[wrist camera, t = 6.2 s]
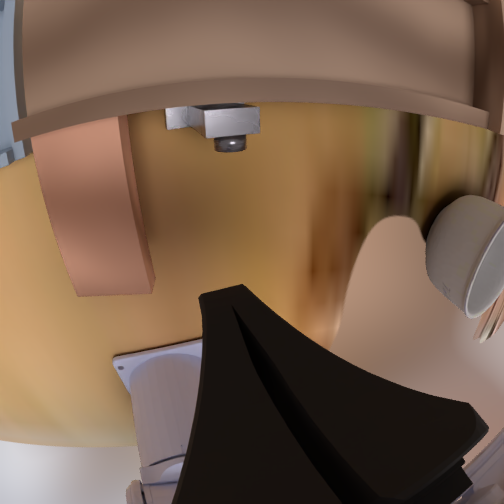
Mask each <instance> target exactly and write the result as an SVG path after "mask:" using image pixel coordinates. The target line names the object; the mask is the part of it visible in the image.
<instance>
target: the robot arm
mask: <svg viewBox="0 0 504 504" xmlns="http://www.w3.org/2000/svg"><path fill="white" fill-rule="evenodd" d="M198 299H199V304H200V309H201V314H202V328H203V332H202V339H199V340H195V341H190V342H186V343H181V344H177V345H172V346H168V347H163V348H158V349H153V350H148V351H143V352H138V353H133V354H127V355H122V356H117V357H114V358H113V366H114V367H115V369H116V371H117V373H118V375H119V376H120V378H121V380H122V382H123V383H124V385H125V387H126V389H127V390H128V392H129V394H130V395H131V402H132V410H133V417H134V424H135V431H136V437H137V443H138V449H139V455H140V460H141V465H142V467H140V473H141V478H142V483H143V484H142V483H141V481H140V480H134V481H132V482H131V485H129V487H128V488H127V489H126V499H127V504H504V428H503V429H502V430H501V431H500V432H499V433H498V434H497V435H496V437H495V438H494V439H493V440H492V441H491V442H490V443H489V444H488V445H487V446H486V447H485V448H484V449H483V450H482V451H481V452H480V453H479V454H478V455H477V456H476V457H475V458H474V459H473V460H472V461H471V462H470V463H468V464H467V465H466V466H465V467H464V468H462V467H461V466H462V465H463V464H464V463H465V460H464V459H463V458H462V457H463V456H464V455H466V454H467V453H468V452H469V451H470V450H471V449H472V448H473V447H474V446H475V445H476V444H477V443H478V442H479V441H480V440H481V439H482V438H483V437H484V436H485V435H486V434H487V432H488V429H489V427H488V425H487V424H486V423H485V422H484V420H483V419H482V418H481V417H480V416H479V415H478V413H477V412H476V411H475V410H474V408H473V407H472V406H471V405H470V404H469V403H466V402H460V401H456V400H451V399H446V398H442V397H437V396H433V395H429V394H426V393H422V392H419V391H416V390H412V389H410V388H406V387H404V386H401V385H399V384H396V383H393V382H391V381H388V380H386V379H383V378H381V377H379V376H376V375H373V374H371V373H369V372H367V371H365V370H363V369H361V368H359V367H357V366H355V365H353V364H351V363H349V362H347V361H345V360H344V359H342V358H340V357H338V356H336V355H335V354H333V353H331V352H330V351H328V350H326V349H325V348H323V347H322V346H320V345H318V344H317V343H315V342H314V341H312V340H311V339H309V338H308V337H307V336H305V335H304V334H302V333H301V332H300V331H298V330H297V329H295V328H294V327H293V326H291V325H290V324H289V323H288V322H286V321H285V320H284V319H282V318H281V317H280V316H279V315H277V314H276V313H275V312H274V311H273V310H271V309H270V308H269V307H268V306H267V305H266V304H264V303H263V302H262V301H261V300H260V299H259V298H258V297H257V296H255V295H254V294H253V293H252V292H251V291H250V290H249V289H248V288H247V287H246V286H244V285H243V284H240V285H236V286H232V287H228V288H224V289H220V290H216V291H212V292H207V293H203V294H201V295H200V296H199V298H198ZM461 496H462V499H460V500H458V498H460V497H461ZM457 500H458V501H457ZM455 501H456V502H455ZM454 502H455V503H454Z"/></svg>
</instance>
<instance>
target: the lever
mask: <svg viewBox="0 0 504 504" xmlns="http://www.w3.org/2000/svg"><path fill="white" fill-rule="evenodd" d="M22 58H23V78H24V90H25V100H26V109H27V117H25V118H22V119H19V120H17V121H14V122H11V125H12V132H13V138H14V143H15V142H18V141H21V140H24V139H28V138H31V142H32V148H33V153H34V158H35V163H36V168H37V172H38V177H39V181H40V185H41V189H42V193H43V197H44V201H45V204H46V208H47V211H48V215H49V218H50V222H51V225H52V228H53V231H54V234H55V237H56V240H57V243H58V246H59V249H60V252H61V255H62V258H63V260H64V263H65V266H66V269H67V271H68V274H69V276H70V279H71V281H72V284H73V286H74V289H75V291H76V294H77V296H78V297H80V296H108V295H130V294H150V293H152V291H153V287H154V282H155V278H156V277H155V273H154V269H153V265H152V261H151V256H150V252H149V247H148V242H147V238H146V233H145V228H144V223H143V218H142V213H141V207H140V202H139V196H138V190H137V184H136V178H135V172H134V165H133V159H132V151H131V144H130V136H129V128H128V119H127V114H133V113H139V112H146V111H153V110H160V109H168V108H176V107H185V106H196V105H207V104H222V103H242V102H309V103H329V104H344V105H355V106H366V107H375V108H383V109H391V110H398V111H404V112H411V113H417V114H422V115H428V116H433V117H438V118H443V119H448V120H453V121H457V122H461V123H466V124H470V125H474V126H478V127H481V128H485V129H488V130H491V131H494V132H496V133H499V134H501V135H504V0H24V4H23V23H22Z"/></svg>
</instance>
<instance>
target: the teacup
mask: <svg viewBox="0 0 504 504" xmlns="http://www.w3.org/2000/svg"><path fill="white" fill-rule="evenodd" d="M426 269H427V274H428V276H429V278H430V280H431V282H432V283H433V285H434V286H435V287H436V288H437V289H438V290H439V291H440V292H441V293H442V294H443V295H444V296H445V297H447V298H448V299H449V300H450V301H451V302H452V303H454V304H455V305H456V306H457V307H458V308H460V309H461V310H462V311H463V312H464V313H465V315H466V316H467V317H468V318H476V317H478V316H479V315H481V314H483V313H484V312H485V311H486V310H487V309H488V308H489V307H490V306H491V305H492V304H493V303H494V302H495V300H496V299H497V298H498V296H499V295H500V293H501V292H502V290H503V289H504V207H503V206H501V205H499V204H497V203H495V202H492V201H490V200H488V199H485V198H483V197H480V196H475V195H466V196H463V197H460V198H458V199H456V200H455V201H453V202H452V203H451V204H449V205H448V206H446V207H445V208H444V209H443V210H442V211H441V212H440V213H439V214H438V216H437V217H436V219H435V220H434V222H433V224H432V226H431V228H430V231H429V234H428V237H427V242H426Z"/></svg>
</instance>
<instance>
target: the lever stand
mask: <svg viewBox="0 0 504 504" xmlns="http://www.w3.org/2000/svg"><path fill="white" fill-rule="evenodd" d="M165 117H166V128H167V130H170V129H177V128H184V127H192V128H194V129H195V130H196V131H197V132H199V133H200V134H201V135H202V136H204V137H205V138H214V147H215V151H217V152H238V151H243V150H245V149H246V148H247V146H246V134H256V133H260V107H257V106H252V105H247V104H244V102H242V103H222V104H207V105H196V106H185V107H176V108H168V109H165Z"/></svg>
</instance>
